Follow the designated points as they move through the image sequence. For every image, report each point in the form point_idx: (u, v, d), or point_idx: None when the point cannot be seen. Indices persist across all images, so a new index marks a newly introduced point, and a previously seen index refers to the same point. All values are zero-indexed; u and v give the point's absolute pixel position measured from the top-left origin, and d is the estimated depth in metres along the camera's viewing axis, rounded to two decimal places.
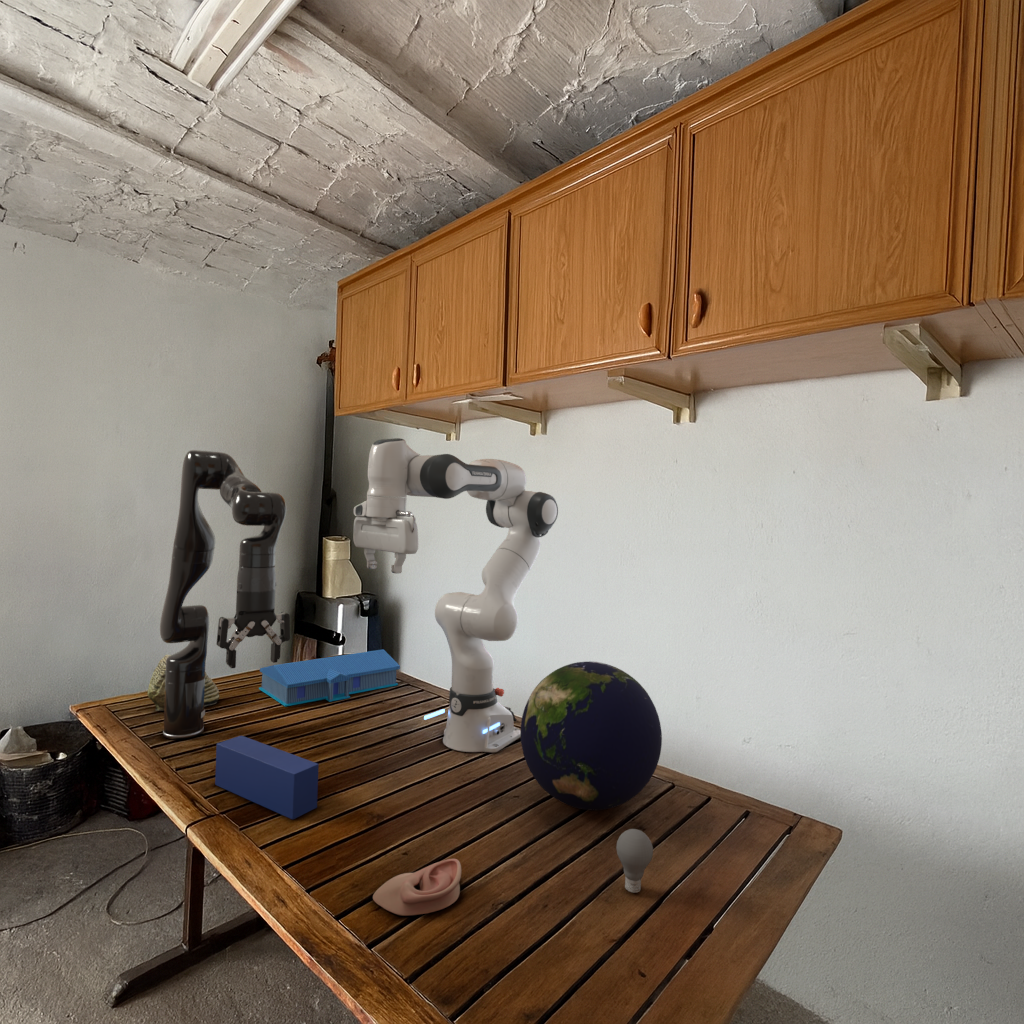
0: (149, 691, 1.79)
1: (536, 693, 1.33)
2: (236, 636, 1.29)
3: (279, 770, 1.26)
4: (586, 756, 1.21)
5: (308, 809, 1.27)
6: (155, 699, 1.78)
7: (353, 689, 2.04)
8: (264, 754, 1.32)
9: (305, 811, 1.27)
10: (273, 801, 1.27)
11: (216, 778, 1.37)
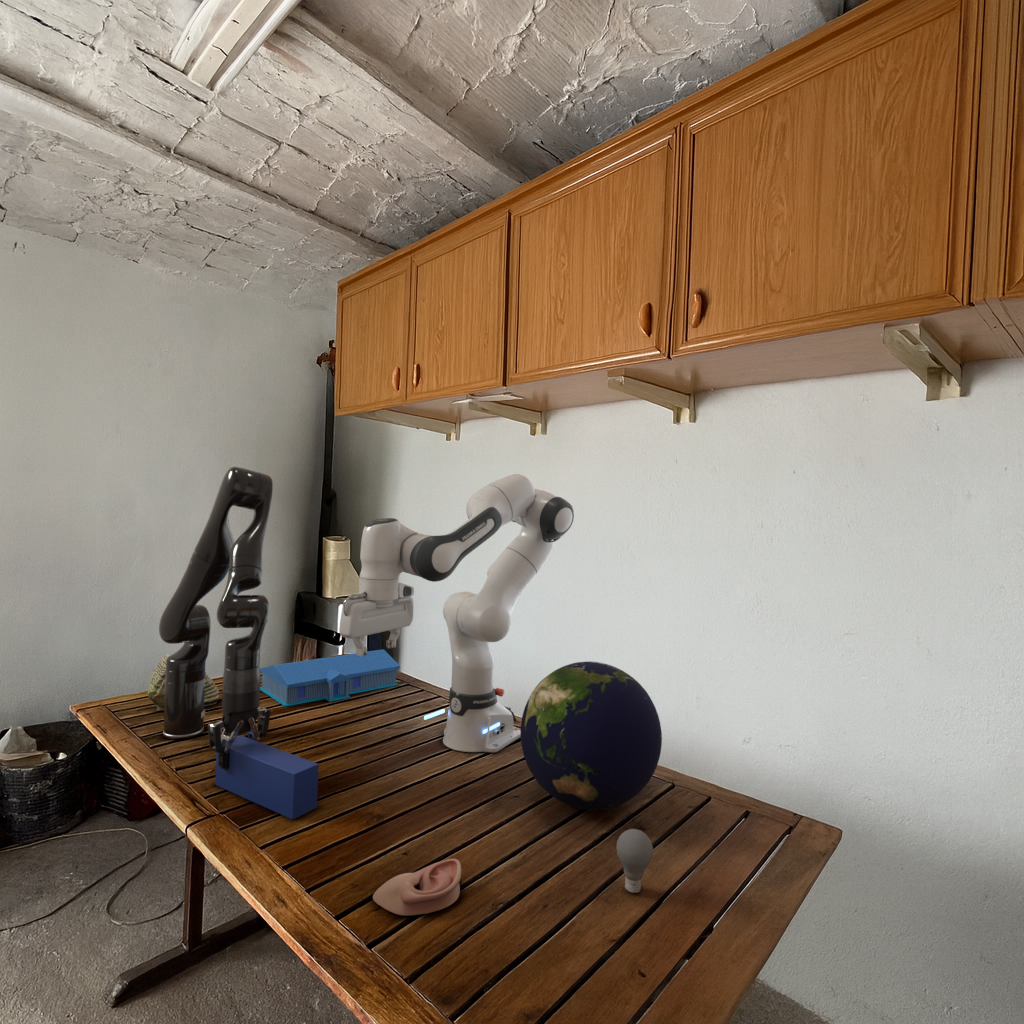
0: (149, 691, 1.79)
1: (536, 693, 1.33)
2: None
3: (279, 770, 1.26)
4: (586, 756, 1.21)
5: (308, 809, 1.27)
6: (155, 699, 1.78)
7: (353, 689, 2.04)
8: (264, 754, 1.32)
9: (305, 811, 1.27)
10: (273, 801, 1.27)
11: (216, 778, 1.37)
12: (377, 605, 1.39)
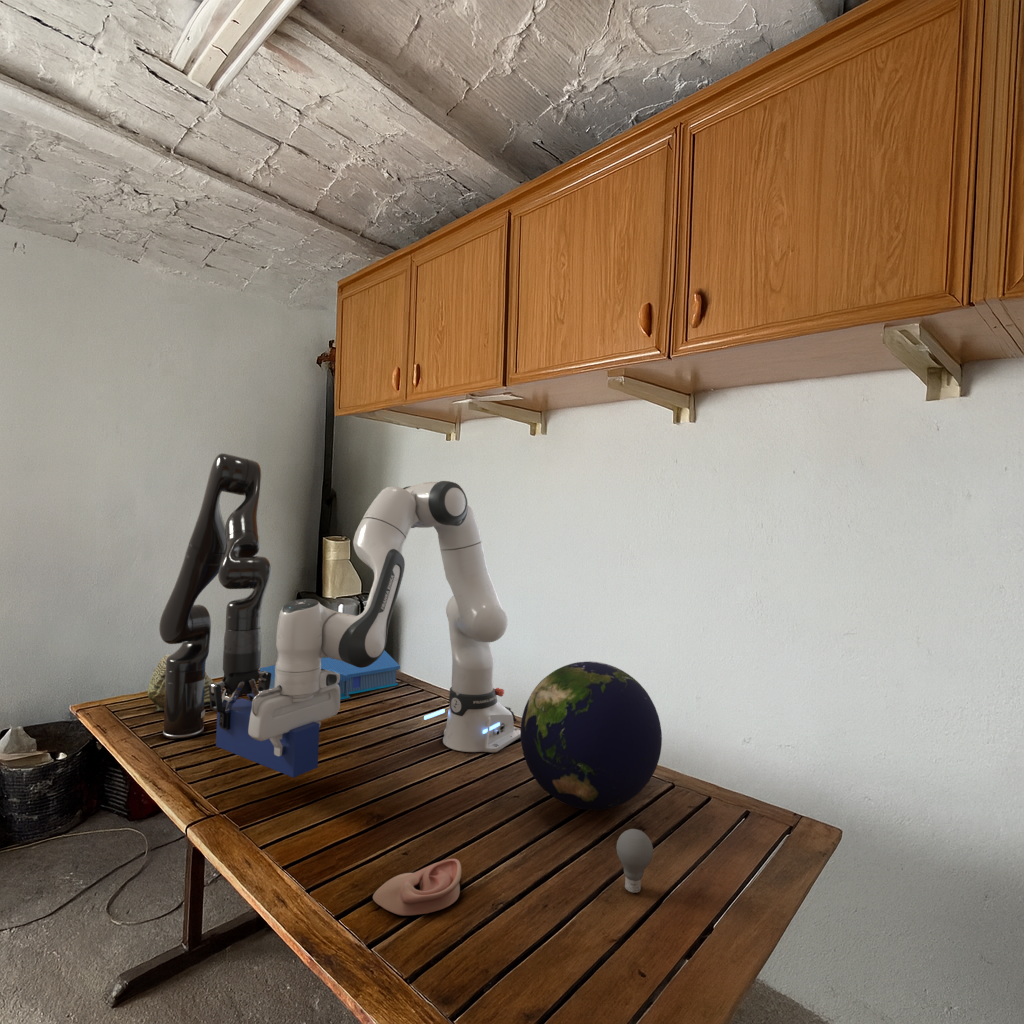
0: (149, 691, 1.79)
1: (536, 693, 1.33)
2: None
3: None
4: (586, 756, 1.21)
5: (309, 768, 1.27)
6: (155, 699, 1.78)
7: (353, 689, 2.04)
8: None
9: (306, 770, 1.26)
10: (274, 760, 1.27)
11: (216, 739, 1.37)
12: (293, 700, 1.25)
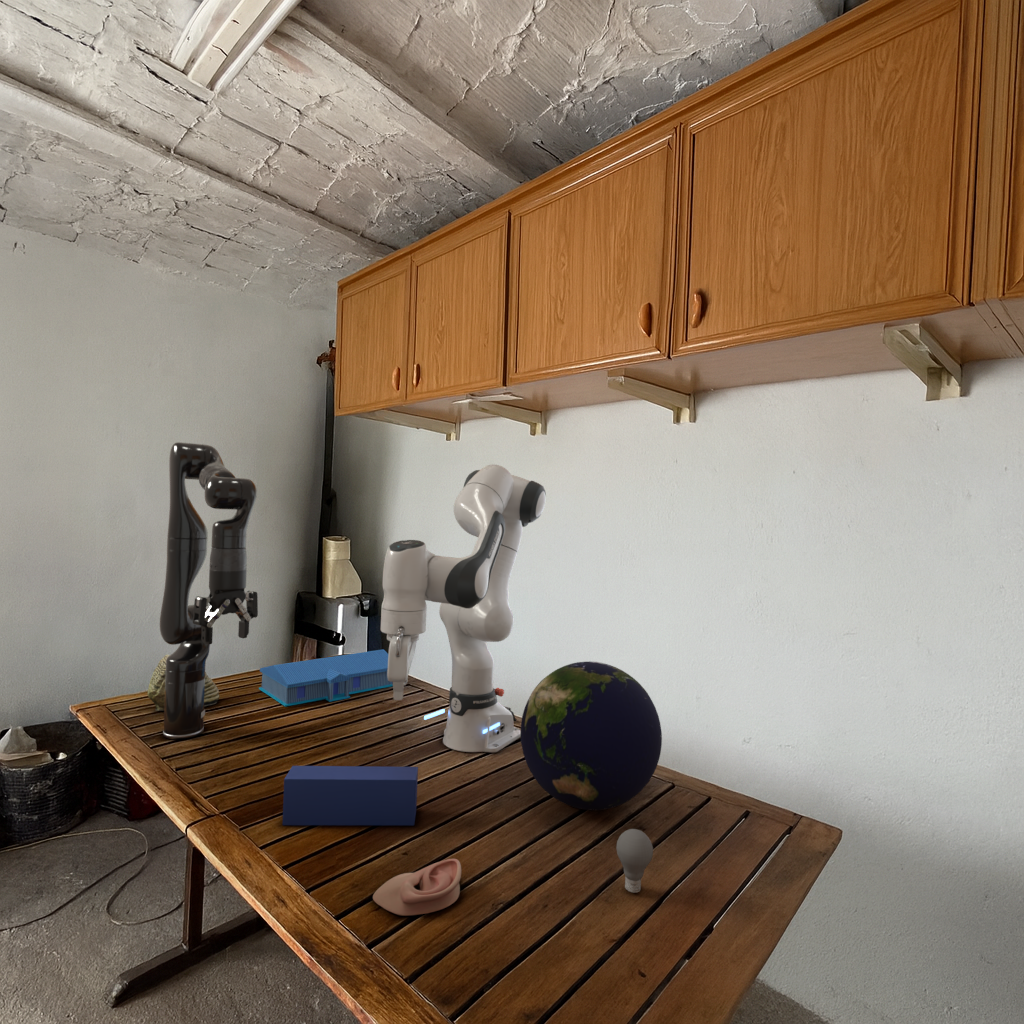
0: (149, 691, 1.79)
1: (536, 693, 1.33)
2: None
3: (393, 781, 1.23)
4: (586, 756, 1.21)
5: (415, 813, 1.28)
6: (155, 699, 1.78)
7: (353, 689, 2.04)
8: (354, 773, 1.25)
9: (415, 815, 1.27)
10: (384, 815, 1.23)
11: (284, 817, 1.22)
12: (411, 640, 1.23)
